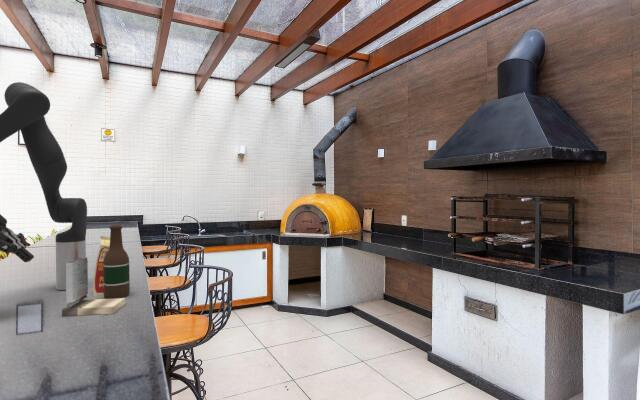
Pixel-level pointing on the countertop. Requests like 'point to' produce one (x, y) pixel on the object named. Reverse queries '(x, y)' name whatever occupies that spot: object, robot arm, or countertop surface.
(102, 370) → the countertop surface
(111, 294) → the beer bottle
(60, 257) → the robot arm
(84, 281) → the slab
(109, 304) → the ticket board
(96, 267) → the milk carton
